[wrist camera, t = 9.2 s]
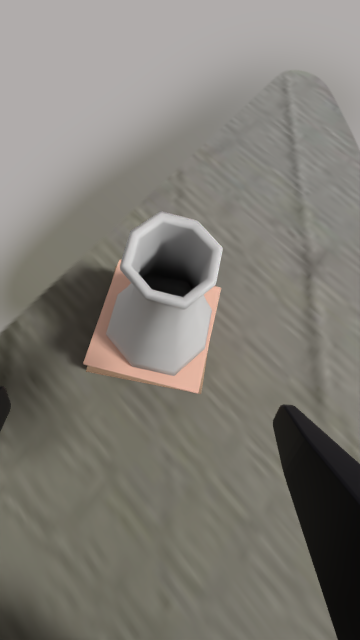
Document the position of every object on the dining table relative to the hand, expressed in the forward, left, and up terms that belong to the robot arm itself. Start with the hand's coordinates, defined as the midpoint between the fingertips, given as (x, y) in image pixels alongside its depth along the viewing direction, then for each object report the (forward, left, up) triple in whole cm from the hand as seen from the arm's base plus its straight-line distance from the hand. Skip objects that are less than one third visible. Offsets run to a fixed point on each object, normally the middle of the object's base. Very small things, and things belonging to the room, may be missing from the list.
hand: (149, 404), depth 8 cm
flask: (+5, 0, -9) cm, 10 cm away
